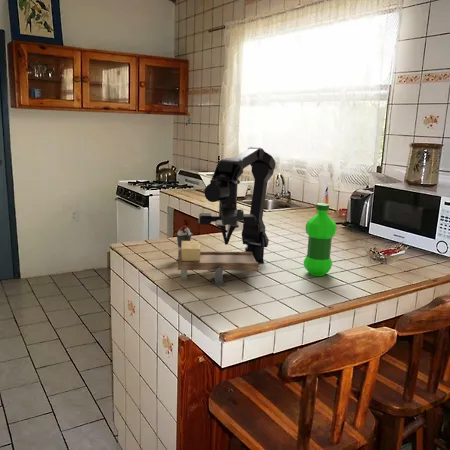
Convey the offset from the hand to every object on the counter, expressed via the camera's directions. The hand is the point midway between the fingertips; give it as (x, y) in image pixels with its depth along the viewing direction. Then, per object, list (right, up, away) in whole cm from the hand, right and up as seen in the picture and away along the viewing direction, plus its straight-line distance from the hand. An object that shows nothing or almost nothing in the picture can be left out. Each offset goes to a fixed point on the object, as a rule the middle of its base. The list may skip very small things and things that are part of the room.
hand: (226, 244), depth 152 cm
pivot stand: (-8, -11, +2) cm, 14 cm away
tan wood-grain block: (-12, -5, 0) cm, 13 cm away
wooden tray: (-3, -6, +1) cm, 7 cm away
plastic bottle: (+32, -11, +9) cm, 35 cm away
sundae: (-16, -7, +19) cm, 26 cm away
